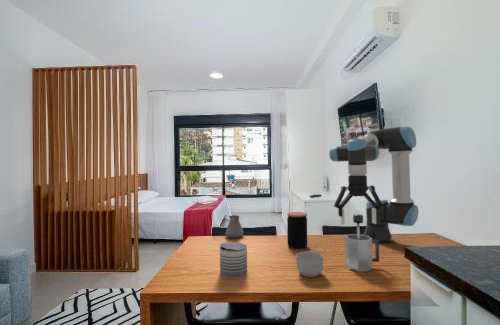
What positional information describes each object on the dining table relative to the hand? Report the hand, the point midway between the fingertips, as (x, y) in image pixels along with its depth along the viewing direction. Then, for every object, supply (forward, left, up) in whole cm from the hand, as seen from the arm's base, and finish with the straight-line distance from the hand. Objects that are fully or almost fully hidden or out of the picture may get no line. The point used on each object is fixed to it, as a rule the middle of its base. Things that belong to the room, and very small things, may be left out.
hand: (358, 223), depth 122 cm
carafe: (-2, 0, -19) cm, 19 cm away
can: (+54, +6, -19) cm, 58 cm away
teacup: (+22, +6, -19) cm, 30 cm away
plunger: (0, 0, -16) cm, 16 cm away
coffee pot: (+57, -48, -19) cm, 77 cm away
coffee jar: (+22, -31, -19) cm, 42 cm away
